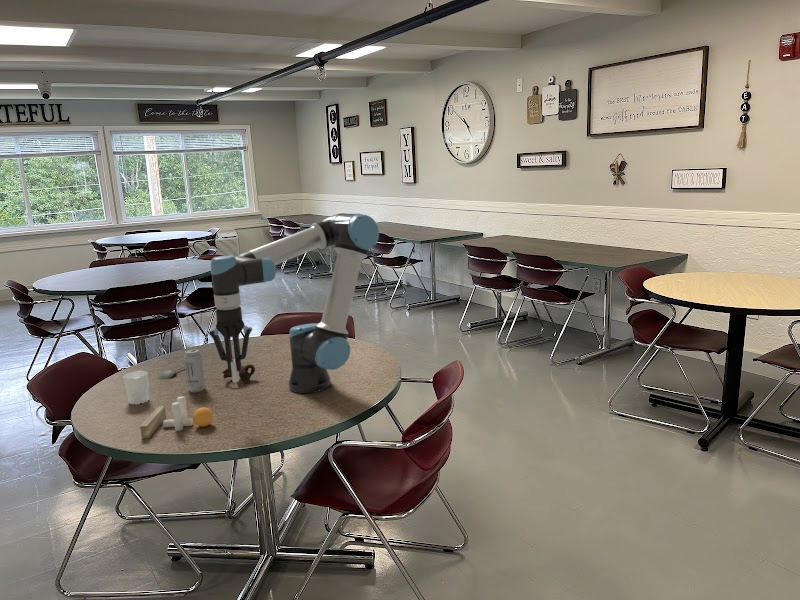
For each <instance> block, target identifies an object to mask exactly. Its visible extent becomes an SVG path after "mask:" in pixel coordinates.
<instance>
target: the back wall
mask: <svg viewBox="0 0 800 600" xmlns="http://www.w3.org/2000/svg"><path fill="white" fill-rule="evenodd" d="M166 418H167V413H166V406H165V405H159V406H157V407H156V408H155V409H154V411H153V412H152V413H151V414H150V415H149V416H148V417H147V418H146V420H145V421H143V423H142V424H141V425H139V426H140V427H139V428H140V434H141V439H142V438H146V439H150V437H151V436H152V435H153V434H152V433H154V432H155V431H156V430H157V429H158V428H159V427H160V426H161V424H163V421H164V420H166ZM157 427H158V428H157ZM156 428H157V429H156ZM151 434H152V435H151ZM150 435H151V436H150ZM149 436H150V437H149Z"/></svg>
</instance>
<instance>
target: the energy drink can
mask: <svg viewBox="0 0 800 600" xmlns="http://www.w3.org/2000/svg"><path fill="white" fill-rule="evenodd" d="M183 358H184V359H183V360H184V366H185V367H184V368H185V376H186V384H187V390H188V391H189V393H201V392H203V391H204V389H206V384H205V375H204V368H203V367H204V366H203V357H202V353H201V352H200V349H195V348H194V349H193V348H192V349H188V350H185V354H184V355H183Z"/></svg>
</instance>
